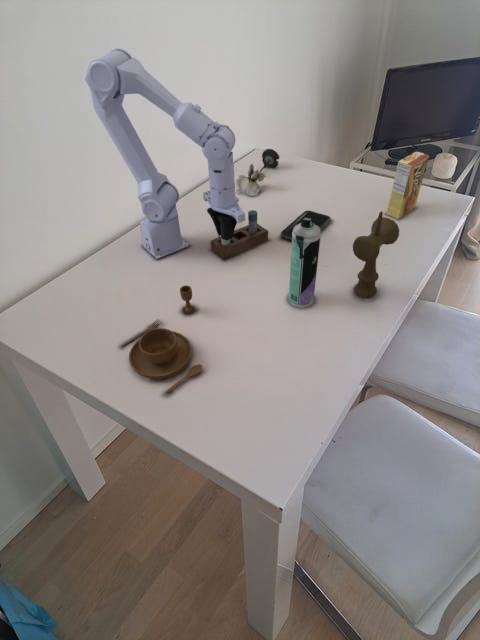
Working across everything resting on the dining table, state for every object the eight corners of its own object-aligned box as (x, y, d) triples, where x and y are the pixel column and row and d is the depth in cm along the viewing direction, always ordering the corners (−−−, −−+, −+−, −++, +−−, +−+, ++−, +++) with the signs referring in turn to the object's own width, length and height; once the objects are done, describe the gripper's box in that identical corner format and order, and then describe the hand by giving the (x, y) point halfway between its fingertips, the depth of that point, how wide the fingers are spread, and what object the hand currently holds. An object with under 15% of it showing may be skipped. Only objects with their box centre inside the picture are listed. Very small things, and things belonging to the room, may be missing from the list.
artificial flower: (284, 172, 146) (291, 146, 138) (252, 208, 134) (257, 182, 125) (261, 161, 147) (267, 135, 139) (227, 195, 135) (231, 169, 127)
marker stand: (223, 260, 107) (223, 250, 105) (211, 250, 110) (210, 240, 108) (268, 240, 113) (268, 230, 111) (255, 231, 116) (254, 222, 114)
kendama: (387, 287, 97) (407, 205, 83) (366, 309, 92) (384, 226, 78) (362, 277, 100) (378, 197, 86) (341, 298, 95) (355, 216, 81)
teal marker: (252, 243, 112) (251, 215, 107) (247, 239, 114) (246, 212, 108) (259, 240, 113) (259, 212, 108) (253, 236, 114) (253, 209, 109)
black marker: (225, 255, 109) (223, 227, 103) (220, 251, 110) (218, 223, 104) (232, 251, 109) (231, 223, 104) (227, 247, 111) (225, 220, 105)
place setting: (110, 351, 85) (102, 329, 81) (188, 303, 95) (184, 282, 91) (163, 401, 76) (158, 379, 72) (244, 342, 86) (243, 320, 82)
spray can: (312, 309, 92) (321, 227, 79) (287, 306, 93) (291, 224, 80) (314, 293, 96) (323, 212, 83) (290, 290, 97) (294, 210, 84)
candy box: (402, 203, 125) (415, 150, 114) (415, 208, 122) (430, 154, 112) (385, 214, 120) (397, 160, 110) (399, 219, 118) (412, 165, 108)
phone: (279, 233, 113) (306, 209, 121) (279, 237, 113) (306, 213, 122) (305, 242, 109) (332, 216, 118) (305, 246, 110) (331, 220, 119)
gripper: (255, 190, 95) (256, 243, 104) (218, 169, 104) (222, 219, 113) (229, 200, 92) (232, 253, 101) (193, 177, 101) (199, 228, 110)
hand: (225, 236), depth 107 cm, fingers closed on black marker, 2 cm apart
